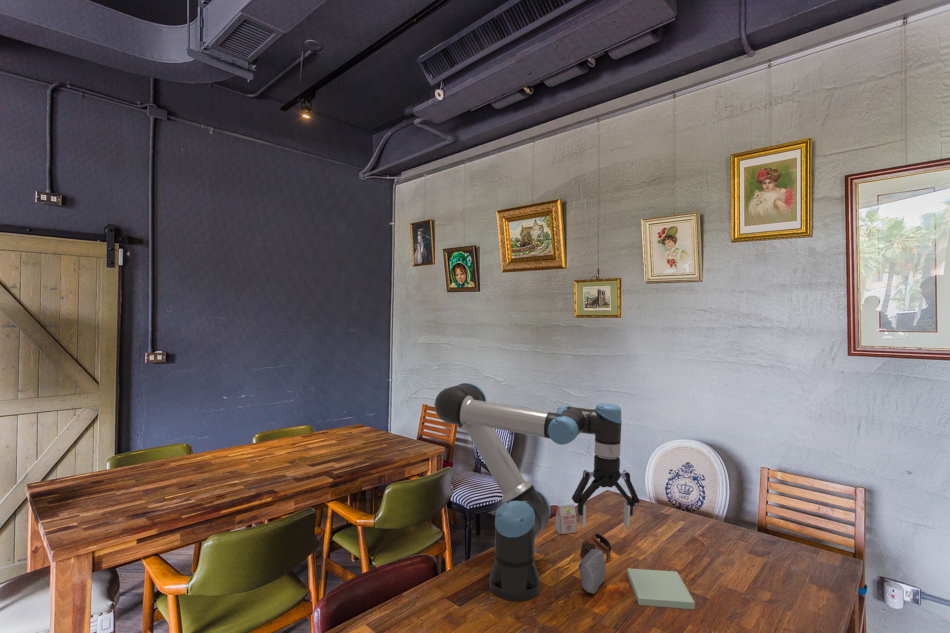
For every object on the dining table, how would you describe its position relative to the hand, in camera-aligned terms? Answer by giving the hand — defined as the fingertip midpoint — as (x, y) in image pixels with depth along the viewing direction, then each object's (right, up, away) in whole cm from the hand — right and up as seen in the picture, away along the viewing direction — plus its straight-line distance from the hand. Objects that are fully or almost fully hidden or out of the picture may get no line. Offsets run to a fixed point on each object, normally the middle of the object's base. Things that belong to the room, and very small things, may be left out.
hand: (604, 525), depth 141 cm
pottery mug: (-1, -19, +16) cm, 25 cm away
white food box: (-5, -19, +35) cm, 40 cm away
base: (+15, -18, -3) cm, 24 cm away
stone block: (-4, -18, -2) cm, 19 cm away
